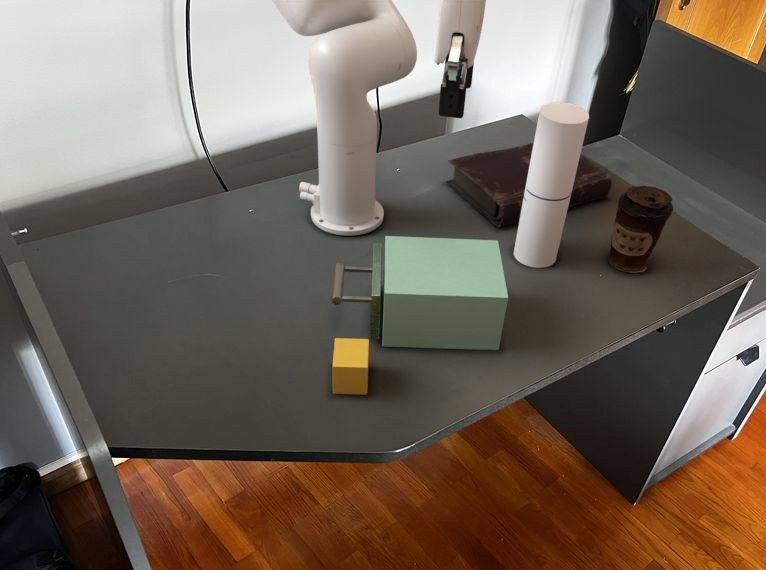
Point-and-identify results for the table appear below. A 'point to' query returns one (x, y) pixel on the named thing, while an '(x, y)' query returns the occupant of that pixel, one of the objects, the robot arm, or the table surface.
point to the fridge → (443, 293)
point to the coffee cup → (638, 227)
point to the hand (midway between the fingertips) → (455, 100)
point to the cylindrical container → (550, 182)
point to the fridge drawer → (374, 300)
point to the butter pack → (350, 366)
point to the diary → (515, 182)
